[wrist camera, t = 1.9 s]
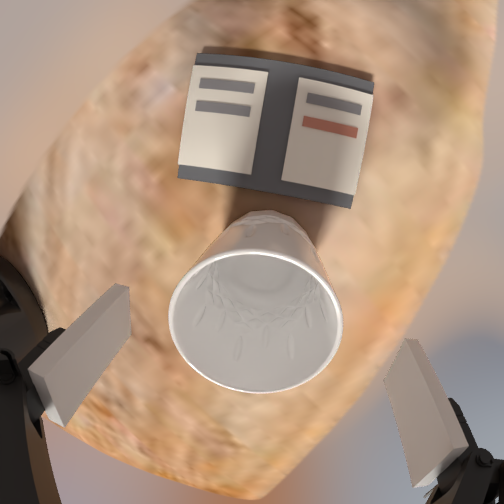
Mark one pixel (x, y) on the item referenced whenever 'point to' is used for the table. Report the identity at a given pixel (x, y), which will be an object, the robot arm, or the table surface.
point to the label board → (275, 127)
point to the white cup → (257, 307)
